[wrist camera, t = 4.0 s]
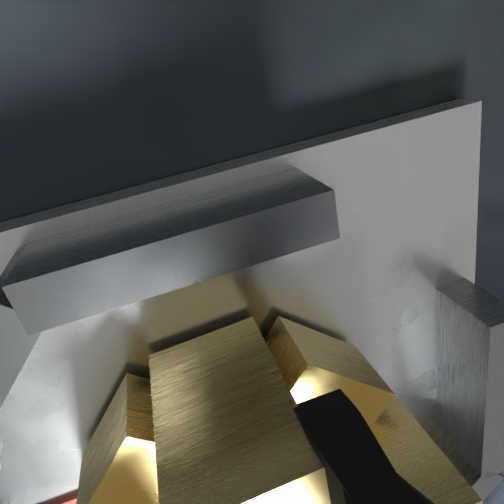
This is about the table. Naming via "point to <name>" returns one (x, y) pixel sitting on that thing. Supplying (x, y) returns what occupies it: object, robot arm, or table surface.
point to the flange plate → (259, 287)
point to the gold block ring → (248, 424)
